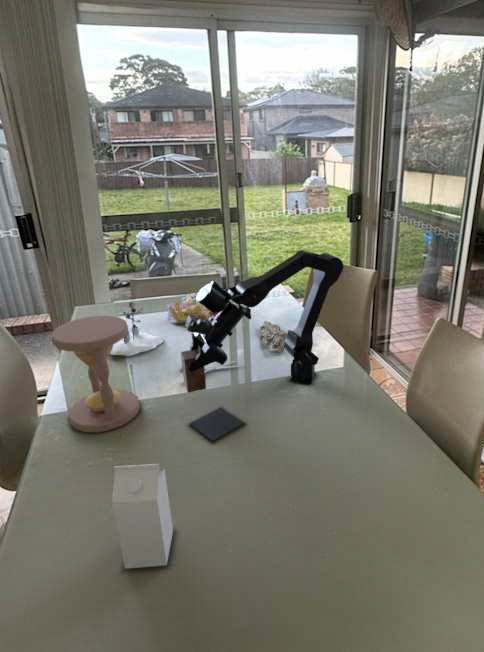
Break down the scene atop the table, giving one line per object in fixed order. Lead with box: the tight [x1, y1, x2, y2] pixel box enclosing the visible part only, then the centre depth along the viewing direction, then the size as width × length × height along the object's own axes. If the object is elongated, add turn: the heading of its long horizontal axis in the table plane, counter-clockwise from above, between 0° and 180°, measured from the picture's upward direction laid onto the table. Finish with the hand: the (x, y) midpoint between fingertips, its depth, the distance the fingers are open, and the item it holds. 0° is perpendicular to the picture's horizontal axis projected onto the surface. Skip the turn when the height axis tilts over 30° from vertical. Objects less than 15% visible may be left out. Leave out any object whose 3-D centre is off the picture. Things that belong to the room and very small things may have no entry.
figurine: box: [110, 301, 164, 357], centre depth 154 cm, size 20×18×16 cm
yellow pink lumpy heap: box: [167, 292, 218, 325], centre depth 182 cm, size 25×24×9 cm
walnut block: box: [180, 349, 207, 393], centre depth 119 cm, size 5×5×10 cm
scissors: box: [182, 360, 240, 385], centre depth 140 cm, size 11×1×20 cm
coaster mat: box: [189, 407, 245, 443], centre depth 113 cm, size 10×10×1 cm
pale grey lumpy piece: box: [259, 320, 287, 354], centre depth 161 cm, size 25×10×5 cm
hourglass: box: [51, 315, 141, 434], centre depth 114 cm, size 18×18×25 cm
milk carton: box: [111, 463, 174, 569], centre depth 76 cm, size 7×7×19 cm
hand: (187, 366), depth 118 cm, fingers closed on walnut block, 5 cm apart
